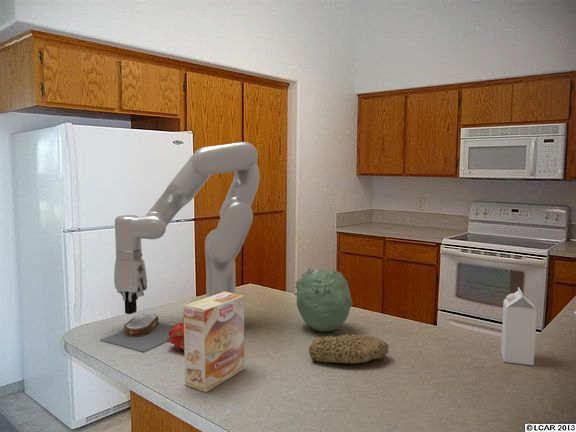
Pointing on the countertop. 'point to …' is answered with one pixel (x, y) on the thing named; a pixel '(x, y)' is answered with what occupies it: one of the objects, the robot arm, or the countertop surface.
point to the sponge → (347, 349)
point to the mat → (141, 339)
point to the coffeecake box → (213, 340)
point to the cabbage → (323, 299)
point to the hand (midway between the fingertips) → (130, 312)
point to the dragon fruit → (177, 335)
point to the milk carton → (518, 329)
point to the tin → (141, 325)
